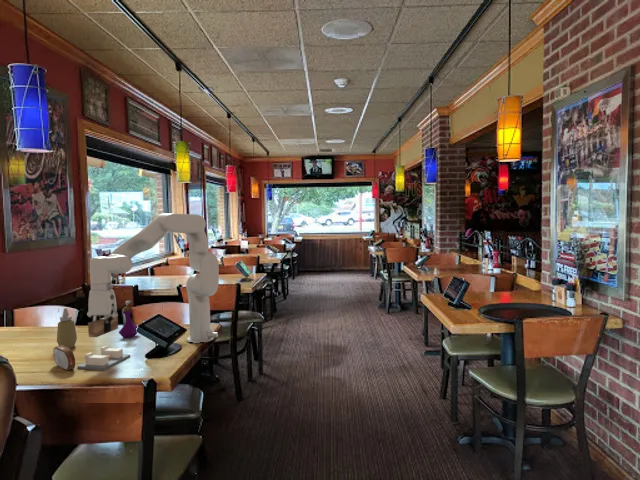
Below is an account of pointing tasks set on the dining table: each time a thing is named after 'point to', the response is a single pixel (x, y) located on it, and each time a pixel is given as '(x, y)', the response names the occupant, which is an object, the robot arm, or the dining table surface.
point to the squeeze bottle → (66, 331)
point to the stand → (103, 359)
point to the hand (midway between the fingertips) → (103, 331)
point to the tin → (64, 357)
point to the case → (100, 327)
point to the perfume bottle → (128, 324)
